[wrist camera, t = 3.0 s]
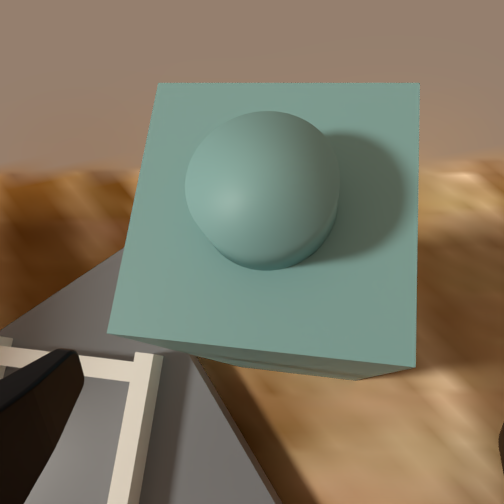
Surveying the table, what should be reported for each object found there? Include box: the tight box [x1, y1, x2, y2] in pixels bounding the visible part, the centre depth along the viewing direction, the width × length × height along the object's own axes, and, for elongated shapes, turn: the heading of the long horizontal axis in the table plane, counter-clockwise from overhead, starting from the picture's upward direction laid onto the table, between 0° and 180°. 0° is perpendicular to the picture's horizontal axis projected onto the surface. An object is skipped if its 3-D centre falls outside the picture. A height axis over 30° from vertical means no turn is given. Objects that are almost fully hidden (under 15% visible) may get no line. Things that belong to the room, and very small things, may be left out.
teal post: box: [107, 83, 420, 380], centre depth 13 cm, size 5×5×14 cm
